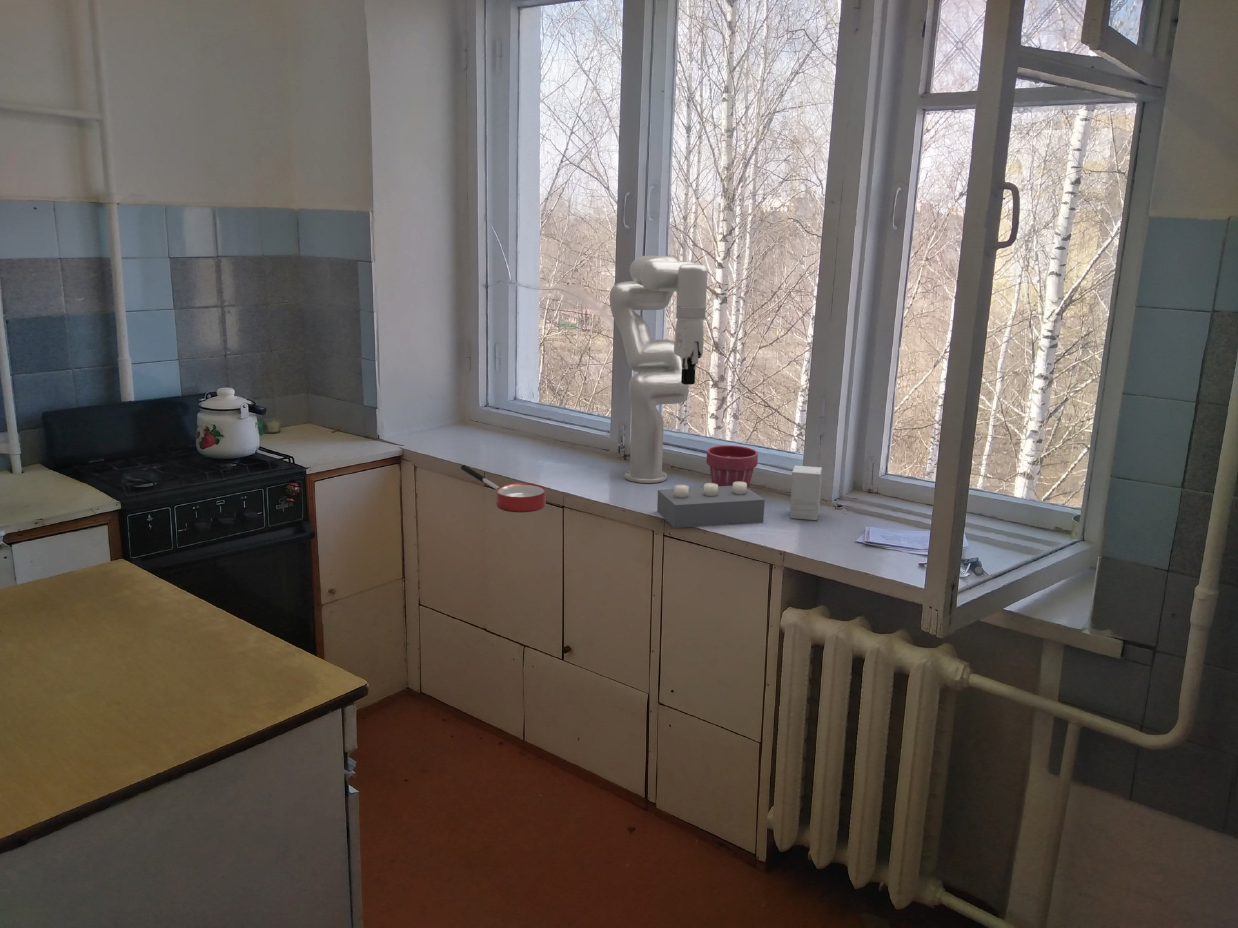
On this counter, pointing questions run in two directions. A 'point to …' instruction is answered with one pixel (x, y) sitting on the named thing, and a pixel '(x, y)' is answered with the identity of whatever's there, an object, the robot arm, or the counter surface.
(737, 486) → the knob
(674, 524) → the control box
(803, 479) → the supplement box
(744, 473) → the plant pot
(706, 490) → the knob
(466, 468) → the red saucepan
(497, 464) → the counter surface
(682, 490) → the knob
